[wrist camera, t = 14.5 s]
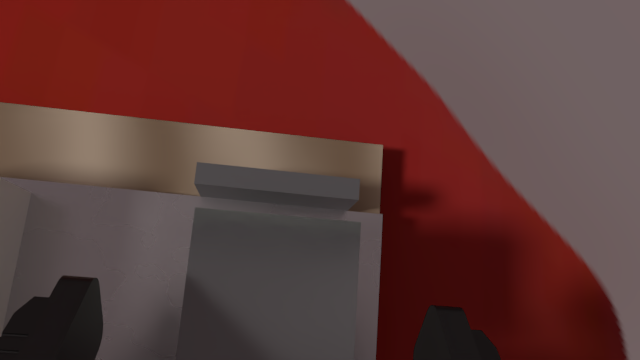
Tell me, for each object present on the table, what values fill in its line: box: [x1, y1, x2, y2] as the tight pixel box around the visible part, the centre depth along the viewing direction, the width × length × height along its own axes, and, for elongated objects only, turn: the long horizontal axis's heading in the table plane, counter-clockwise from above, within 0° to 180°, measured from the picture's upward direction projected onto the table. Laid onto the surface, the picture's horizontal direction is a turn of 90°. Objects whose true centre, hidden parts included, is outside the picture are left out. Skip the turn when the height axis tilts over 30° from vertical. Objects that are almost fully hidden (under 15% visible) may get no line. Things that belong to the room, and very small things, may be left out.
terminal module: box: [176, 207, 361, 360], centre depth 17 cm, size 4×4×7 cm
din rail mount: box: [0, 102, 383, 360], centre depth 19 cm, size 20×14×6 cm
